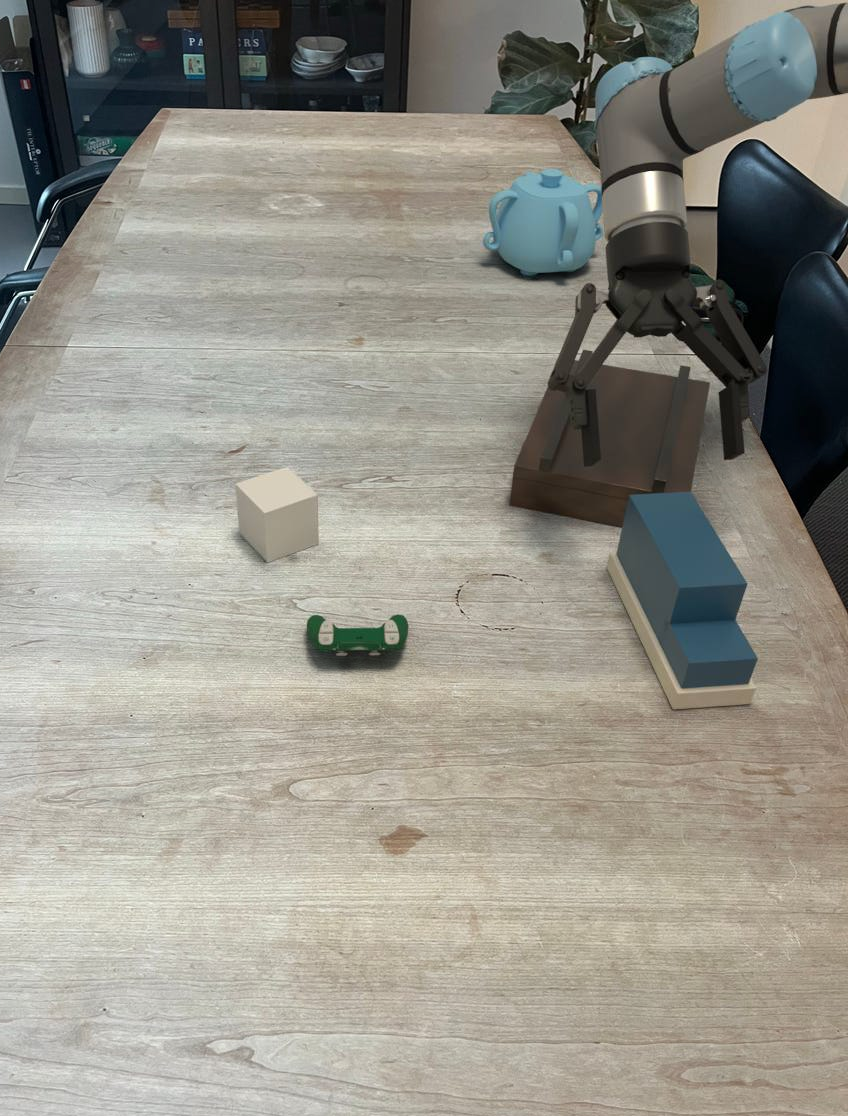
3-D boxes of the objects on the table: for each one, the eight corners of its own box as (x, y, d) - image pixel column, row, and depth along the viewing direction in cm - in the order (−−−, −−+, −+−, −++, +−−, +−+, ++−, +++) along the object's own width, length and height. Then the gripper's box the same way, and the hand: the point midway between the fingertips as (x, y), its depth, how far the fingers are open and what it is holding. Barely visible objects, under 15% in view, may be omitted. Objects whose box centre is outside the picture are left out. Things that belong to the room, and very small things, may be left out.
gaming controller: (307, 656, 95) (305, 655, 89) (307, 615, 96) (305, 611, 90) (406, 655, 96) (412, 654, 90) (406, 614, 96) (411, 610, 90)
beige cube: (267, 563, 103) (264, 513, 99) (239, 533, 107) (234, 483, 103) (319, 543, 105) (318, 494, 101) (289, 515, 109) (287, 466, 105)
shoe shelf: (700, 419, 126) (713, 370, 121) (678, 538, 107) (693, 486, 103) (554, 394, 130) (561, 345, 125) (508, 505, 111) (515, 452, 107)
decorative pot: (467, 265, 160) (475, 173, 151) (520, 234, 170) (530, 146, 160) (560, 293, 153) (574, 198, 144) (610, 259, 162) (626, 168, 153)
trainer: (606, 567, 103) (622, 491, 97) (673, 563, 104) (694, 488, 98) (672, 710, 89) (696, 631, 83) (750, 704, 89) (780, 625, 83)
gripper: (754, 250, 102) (772, 463, 101) (506, 256, 99) (522, 474, 98) (792, 214, 94) (813, 444, 93) (525, 220, 92) (542, 456, 91)
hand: (663, 460), depth 96 cm, fingers open, 13 cm apart
